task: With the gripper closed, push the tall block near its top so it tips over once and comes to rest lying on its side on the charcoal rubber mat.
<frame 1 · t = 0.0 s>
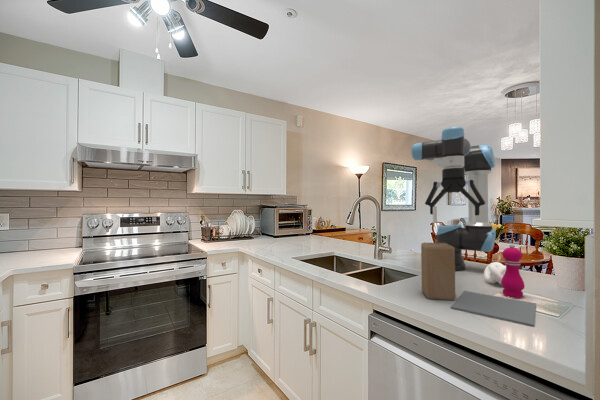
hand: (453, 223, 108), 28 cm above the worktop, tool pointing down, fingers open, 13 cm apart
mat: (493, 306, 97), on the worktop
white decorative knot: (501, 284, 123), on the worktop
block: (437, 296, 109), on the worktop
pepper mill: (512, 296, 108), on the worktop
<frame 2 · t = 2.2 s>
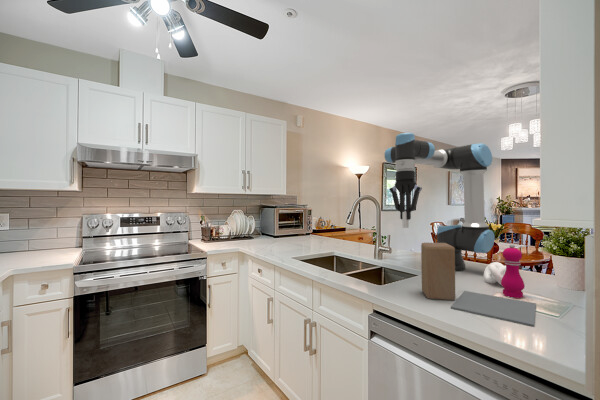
hand: (405, 227, 117), 26 cm above the worktop, tool pointing down, fingers closed
nothing on the worktop moved.
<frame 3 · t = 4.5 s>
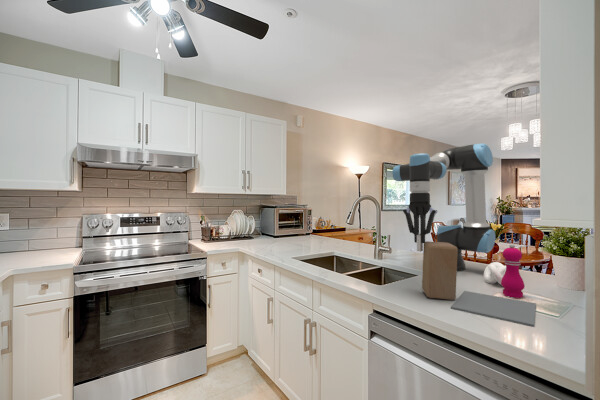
hand: (419, 250, 113), 17 cm above the worktop, tool pointing down, fingers closed
block: (437, 295, 109), on the worktop, touching gripper
everything else where it was.
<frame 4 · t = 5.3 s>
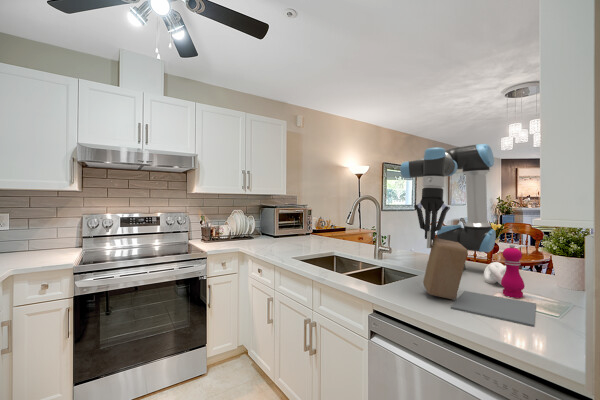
hand: (429, 247, 110), 18 cm above the worktop, tool pointing down, fingers closed
block: (438, 292, 109), point 1 cm above the worktop, touching gripper
everything else where it was.
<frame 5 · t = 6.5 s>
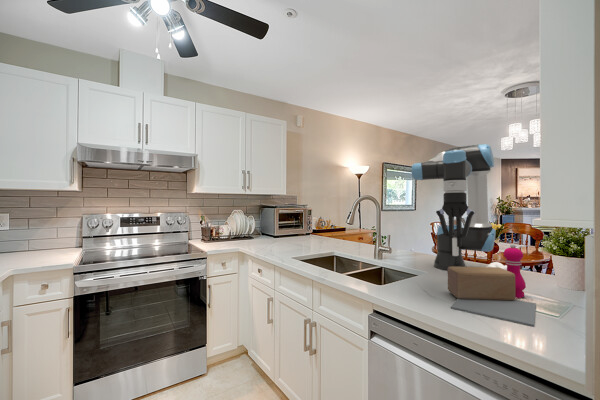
hand: (455, 255, 105), 16 cm above the worktop, tool pointing down, fingers closed
block: (451, 281, 108), point 6 cm above the worktop, touching mat
everything else where it was.
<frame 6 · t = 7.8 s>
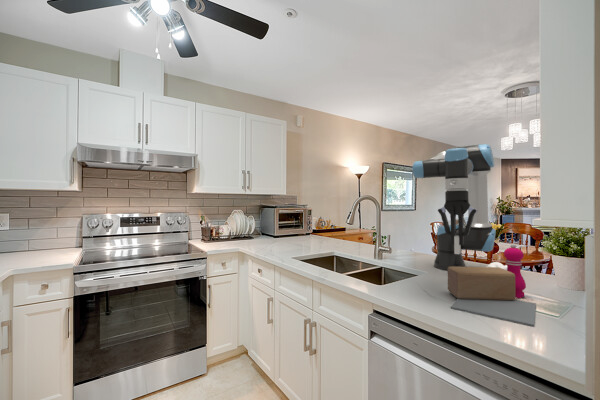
hand: (457, 253, 105), 17 cm above the worktop, tool pointing down, fingers closed
nothing on the worktop moved.
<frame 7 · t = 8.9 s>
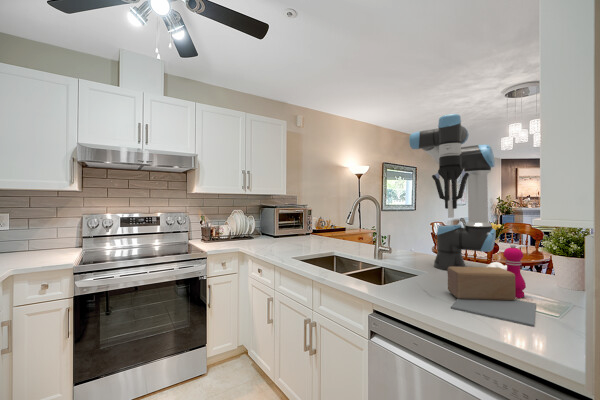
hand: (451, 217, 108), 30 cm above the worktop, tool pointing down, fingers closed
nothing on the worktop moved.
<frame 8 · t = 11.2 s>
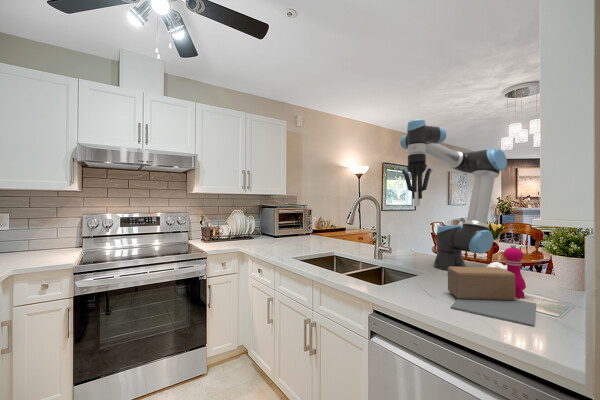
hand: (417, 206, 128), 34 cm above the worktop, tool pointing down, fingers closed
nothing on the worktop moved.
at the end: block tilted 90°; block touching mat; block inside the target area (4.4 cm from its centre), point 5.6 cm above the worktop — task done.
